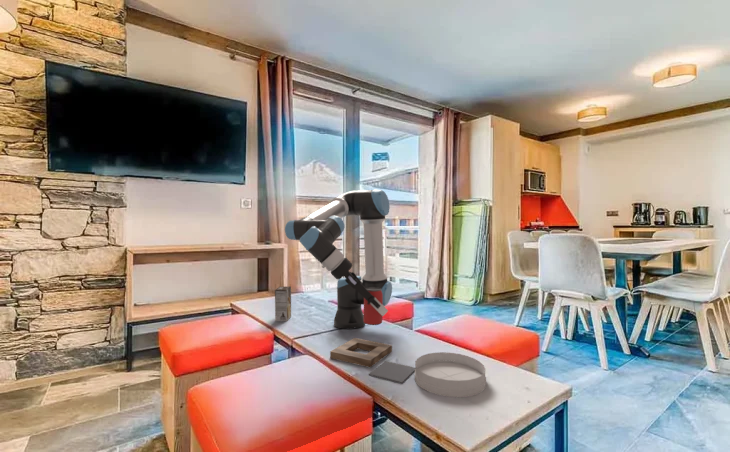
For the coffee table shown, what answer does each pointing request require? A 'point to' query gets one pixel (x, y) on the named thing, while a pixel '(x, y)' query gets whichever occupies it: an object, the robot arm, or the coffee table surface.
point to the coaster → (392, 372)
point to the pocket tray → (368, 360)
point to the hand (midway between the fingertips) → (383, 310)
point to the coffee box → (283, 303)
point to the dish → (450, 374)
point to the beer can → (369, 311)
